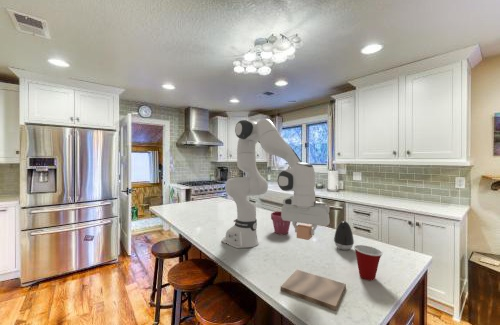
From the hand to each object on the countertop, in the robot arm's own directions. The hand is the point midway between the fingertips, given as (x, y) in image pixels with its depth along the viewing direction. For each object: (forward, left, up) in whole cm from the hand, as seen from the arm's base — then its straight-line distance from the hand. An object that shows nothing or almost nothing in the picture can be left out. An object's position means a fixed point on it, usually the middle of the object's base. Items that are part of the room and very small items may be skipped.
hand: (304, 233), depth 95 cm
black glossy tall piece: (+7, +42, -19) cm, 46 cm away
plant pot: (-34, +47, -19) cm, 61 cm away
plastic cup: (+22, +15, -19) cm, 33 cm away
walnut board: (+6, -7, -18) cm, 21 cm away
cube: (0, 0, -2) cm, 2 cm away
